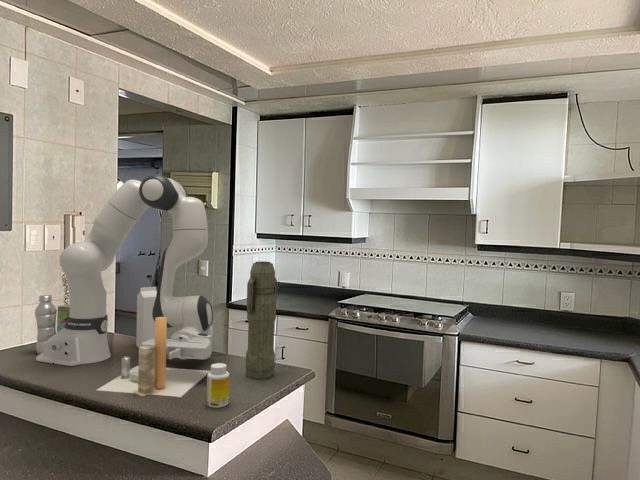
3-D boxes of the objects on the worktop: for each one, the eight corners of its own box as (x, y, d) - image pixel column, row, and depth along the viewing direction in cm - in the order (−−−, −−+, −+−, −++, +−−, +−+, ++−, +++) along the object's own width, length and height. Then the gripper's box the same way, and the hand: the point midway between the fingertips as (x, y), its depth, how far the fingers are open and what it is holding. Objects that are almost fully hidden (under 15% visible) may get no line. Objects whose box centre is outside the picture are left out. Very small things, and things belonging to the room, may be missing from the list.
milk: (158, 347, 176) (160, 287, 175) (142, 349, 172) (143, 288, 171) (151, 343, 180) (153, 285, 179) (135, 346, 176) (137, 286, 175)
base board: (95, 391, 130) (95, 390, 130) (136, 366, 152) (137, 365, 152) (180, 397, 127) (180, 396, 127) (209, 371, 149) (209, 370, 149)
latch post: (142, 398, 126) (143, 350, 125) (132, 393, 129) (133, 347, 129) (159, 393, 130) (160, 347, 129) (149, 388, 133) (150, 343, 132)
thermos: (282, 372, 151) (285, 261, 149) (260, 383, 140) (264, 264, 139) (259, 367, 155) (262, 260, 153) (236, 377, 144) (239, 262, 143)
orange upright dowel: (127, 379, 138) (128, 313, 137) (136, 376, 140) (137, 311, 139) (159, 389, 130) (160, 319, 130) (167, 386, 133) (169, 317, 132)
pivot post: (119, 378, 139) (119, 358, 139) (123, 376, 142) (124, 356, 142) (127, 379, 139) (127, 358, 139) (131, 376, 142) (131, 356, 141)
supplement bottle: (233, 404, 123) (234, 365, 123) (215, 410, 119) (216, 370, 119) (220, 398, 127) (221, 360, 127) (202, 404, 123) (203, 365, 123)
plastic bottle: (62, 352, 165) (61, 294, 165) (43, 357, 159) (41, 296, 159) (50, 351, 168) (49, 294, 168) (31, 355, 162) (30, 296, 162)
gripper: (152, 331, 148) (130, 342, 135) (216, 335, 146) (200, 347, 132) (152, 351, 149) (129, 364, 135) (216, 356, 146) (199, 369, 133)
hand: (165, 356), depth 134 cm, fingers closed
